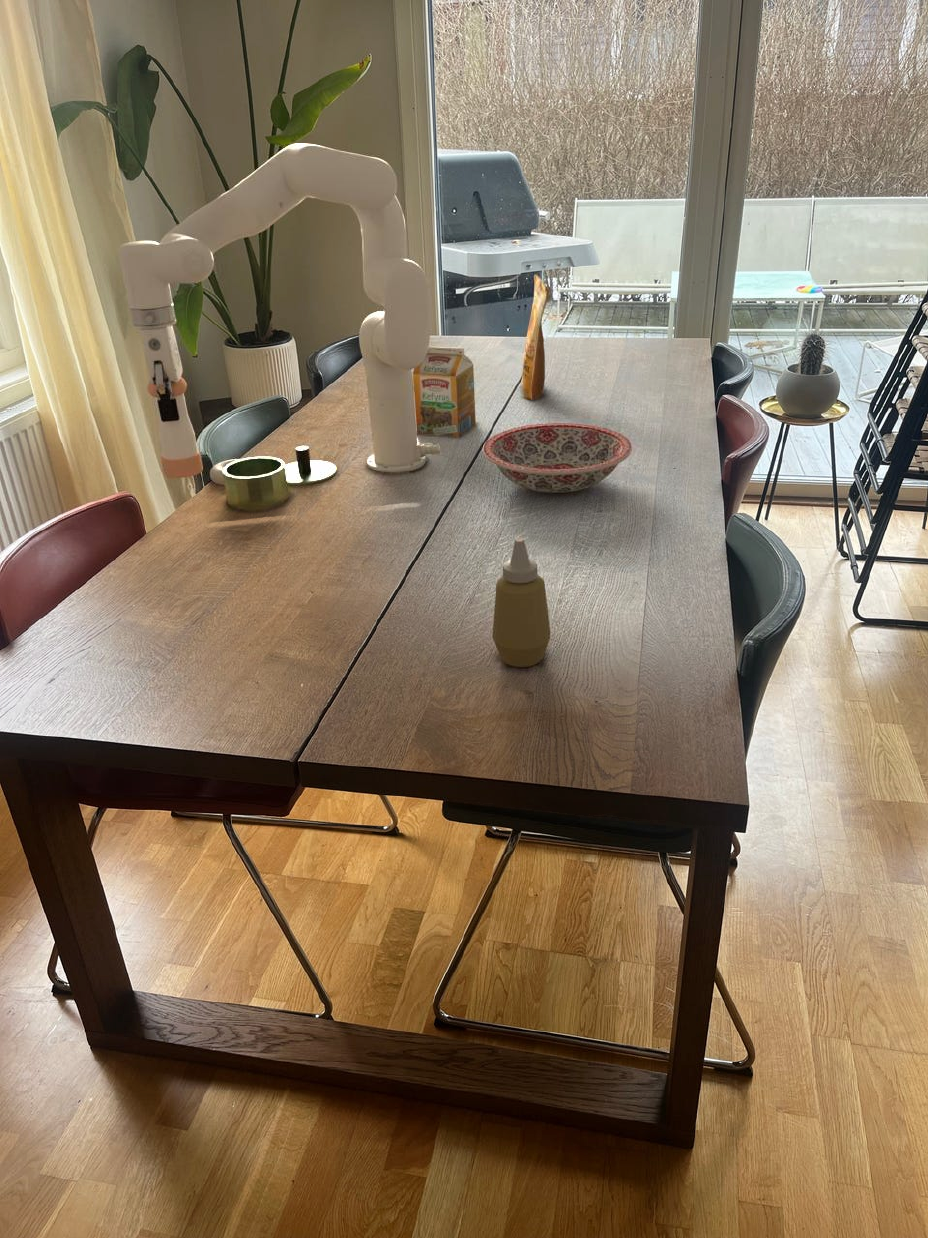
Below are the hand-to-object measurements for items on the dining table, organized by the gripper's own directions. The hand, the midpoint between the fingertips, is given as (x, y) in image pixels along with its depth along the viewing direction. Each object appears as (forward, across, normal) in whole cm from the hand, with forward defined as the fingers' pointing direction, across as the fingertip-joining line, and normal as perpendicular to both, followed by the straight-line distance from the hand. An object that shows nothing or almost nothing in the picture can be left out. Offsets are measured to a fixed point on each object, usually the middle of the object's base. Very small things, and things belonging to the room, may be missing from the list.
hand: (172, 414), depth 177 cm
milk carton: (+20, +36, -56) cm, 69 cm away
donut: (+20, +15, -8) cm, 26 cm away
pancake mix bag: (+19, +60, -83) cm, 104 cm away
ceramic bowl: (+19, -6, -72) cm, 75 cm away
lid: (+19, +13, -22) cm, 32 cm away
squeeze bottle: (+20, -69, -51) cm, 88 cm away
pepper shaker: (+11, 0, 0) cm, 11 cm away
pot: (+19, +2, -13) cm, 23 cm away
